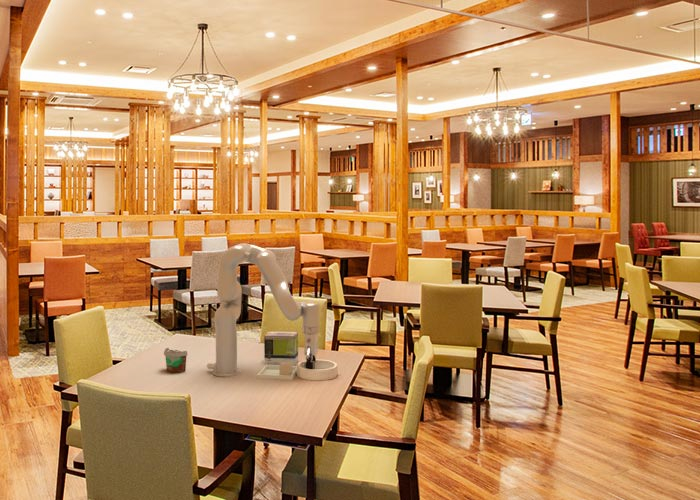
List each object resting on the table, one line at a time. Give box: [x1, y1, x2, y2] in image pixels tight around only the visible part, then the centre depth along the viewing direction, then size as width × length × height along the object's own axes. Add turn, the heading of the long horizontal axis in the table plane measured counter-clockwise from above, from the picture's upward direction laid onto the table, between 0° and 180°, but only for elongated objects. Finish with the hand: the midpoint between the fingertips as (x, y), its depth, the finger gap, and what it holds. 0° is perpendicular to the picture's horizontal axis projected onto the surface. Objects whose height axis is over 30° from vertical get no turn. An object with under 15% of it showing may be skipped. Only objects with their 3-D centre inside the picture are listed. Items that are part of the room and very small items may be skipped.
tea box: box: [263, 331, 299, 366], centre depth 298 cm, size 15×10×15 cm, turn 84°
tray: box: [256, 364, 297, 381], centre depth 278 cm, size 16×16×2 cm
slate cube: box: [304, 361, 317, 370], centre depth 279 cm, size 5×5×5 cm
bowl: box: [296, 358, 338, 381], centre depth 278 cm, size 18×18×5 cm
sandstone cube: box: [278, 362, 293, 376], centre depth 278 cm, size 5×5×5 cm
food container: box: [163, 347, 188, 374], centre depth 281 cm, size 12×6×10 cm, turn 62°
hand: (310, 367), depth 279 cm, fingers open, 6 cm apart
